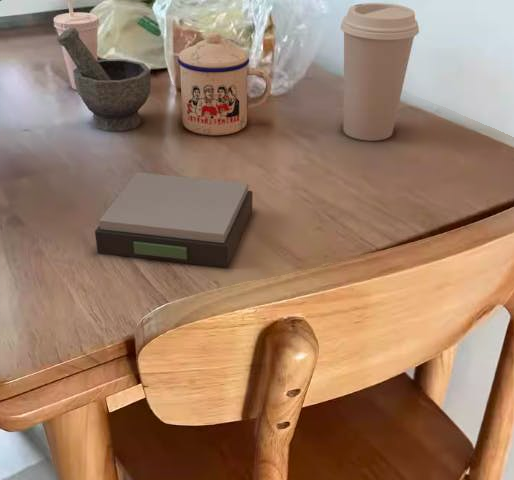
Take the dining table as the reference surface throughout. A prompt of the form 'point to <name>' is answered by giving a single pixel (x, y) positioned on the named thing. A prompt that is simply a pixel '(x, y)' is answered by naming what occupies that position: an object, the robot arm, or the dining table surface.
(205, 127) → the teacup with lid
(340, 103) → the dining table surface
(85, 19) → the smoothie
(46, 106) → the dining table surface
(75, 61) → the mortar and pestle
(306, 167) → the dining table surface
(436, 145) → the dining table surface
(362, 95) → the coffee cup
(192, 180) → the scale
